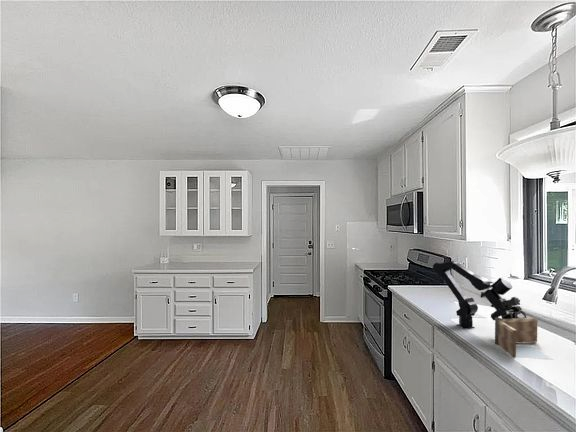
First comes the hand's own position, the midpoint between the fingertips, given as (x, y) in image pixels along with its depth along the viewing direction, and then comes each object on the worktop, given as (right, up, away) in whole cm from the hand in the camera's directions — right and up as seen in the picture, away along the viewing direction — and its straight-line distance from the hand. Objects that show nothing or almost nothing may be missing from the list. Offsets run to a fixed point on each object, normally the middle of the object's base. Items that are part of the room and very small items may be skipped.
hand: (519, 328), depth 164 cm
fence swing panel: (-1, -6, -1) cm, 6 cm away
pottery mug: (+20, -8, +34) cm, 41 cm away
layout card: (-7, -7, -10) cm, 14 cm away
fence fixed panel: (-13, -6, -10) cm, 18 cm away
